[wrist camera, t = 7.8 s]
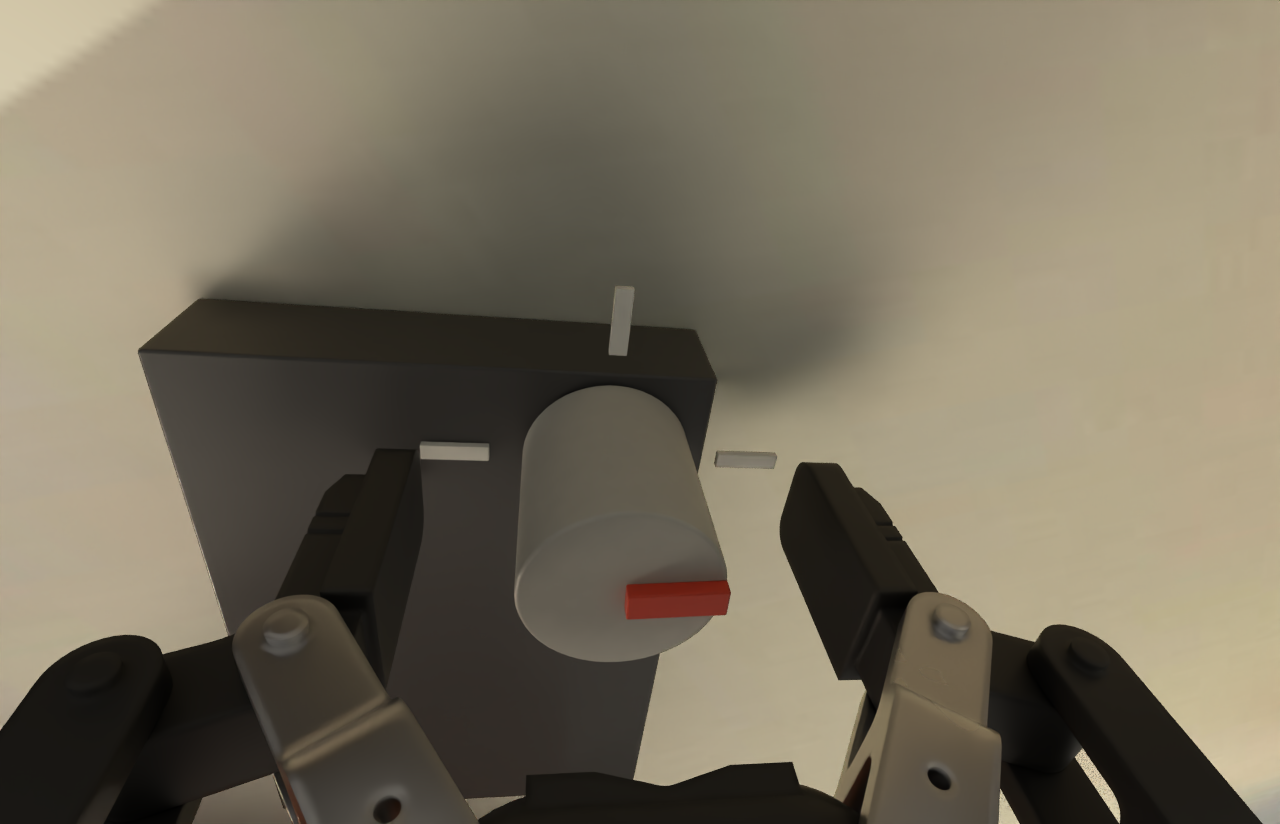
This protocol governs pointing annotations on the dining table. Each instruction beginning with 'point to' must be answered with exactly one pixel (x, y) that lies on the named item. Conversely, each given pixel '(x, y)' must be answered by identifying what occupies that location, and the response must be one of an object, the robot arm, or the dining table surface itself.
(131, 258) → the dining table surface
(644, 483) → the burner knob
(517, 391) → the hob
